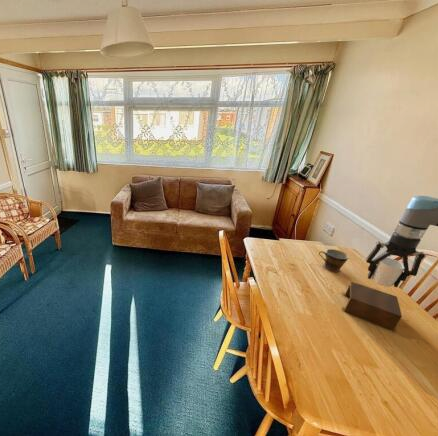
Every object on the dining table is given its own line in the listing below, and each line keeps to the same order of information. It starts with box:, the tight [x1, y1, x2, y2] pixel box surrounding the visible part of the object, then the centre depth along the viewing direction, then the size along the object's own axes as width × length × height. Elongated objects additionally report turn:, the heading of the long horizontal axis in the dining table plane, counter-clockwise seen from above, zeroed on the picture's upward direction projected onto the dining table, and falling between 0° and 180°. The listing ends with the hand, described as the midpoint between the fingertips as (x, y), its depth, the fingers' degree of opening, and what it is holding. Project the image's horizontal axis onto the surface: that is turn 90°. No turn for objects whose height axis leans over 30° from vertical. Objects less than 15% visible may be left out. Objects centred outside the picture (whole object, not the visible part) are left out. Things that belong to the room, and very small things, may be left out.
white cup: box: [370, 257, 405, 288], centre depth 96 cm, size 8×8×10 cm
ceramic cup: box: [318, 248, 349, 273], centre depth 131 cm, size 13×10×10 cm
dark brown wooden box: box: [343, 281, 403, 331], centre depth 103 cm, size 16×14×8 cm
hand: (381, 281), depth 98 cm, fingers closed on white cup, 8 cm apart
